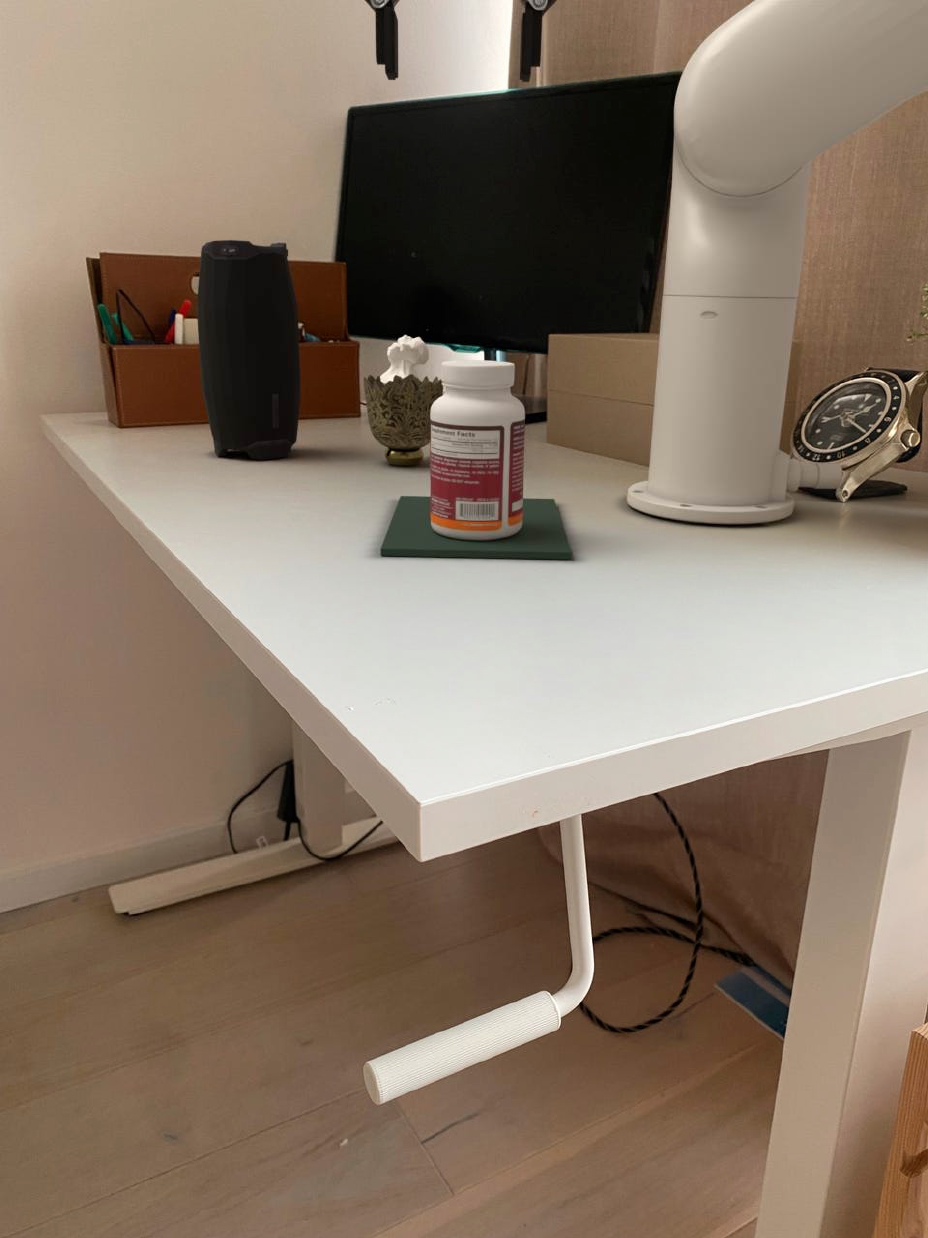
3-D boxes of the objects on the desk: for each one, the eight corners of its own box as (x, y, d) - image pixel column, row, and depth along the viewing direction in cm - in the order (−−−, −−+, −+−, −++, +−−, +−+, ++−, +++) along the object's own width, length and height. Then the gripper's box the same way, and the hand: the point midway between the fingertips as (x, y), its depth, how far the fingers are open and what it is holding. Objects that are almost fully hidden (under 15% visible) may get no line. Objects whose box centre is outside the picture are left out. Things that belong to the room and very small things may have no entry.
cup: (425, 455, 98) (425, 372, 95) (456, 467, 91) (457, 379, 89) (353, 459, 94) (352, 374, 92) (381, 472, 88) (380, 381, 86)
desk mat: (554, 505, 77) (554, 498, 76) (571, 559, 62) (571, 552, 61) (400, 502, 77) (400, 495, 77) (380, 555, 62) (380, 548, 61)
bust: (403, 447, 115) (462, 370, 114) (351, 407, 113) (410, 327, 111) (395, 432, 127) (448, 361, 125) (347, 396, 124) (401, 323, 122)
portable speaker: (203, 448, 99) (189, 241, 93) (296, 445, 102) (288, 244, 96) (210, 462, 92) (195, 238, 85) (310, 459, 94) (302, 241, 88)
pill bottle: (481, 516, 70) (484, 357, 67) (541, 533, 66) (548, 363, 62) (411, 528, 66) (411, 360, 63) (469, 547, 62) (472, 368, 58)
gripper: (323, -243, 62) (330, 64, 67) (598, -240, 61) (583, 68, 67) (339, -189, 69) (345, 85, 74) (586, -186, 69) (574, 88, 74)
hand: (458, 77), depth 71 cm, fingers open, 9 cm apart
